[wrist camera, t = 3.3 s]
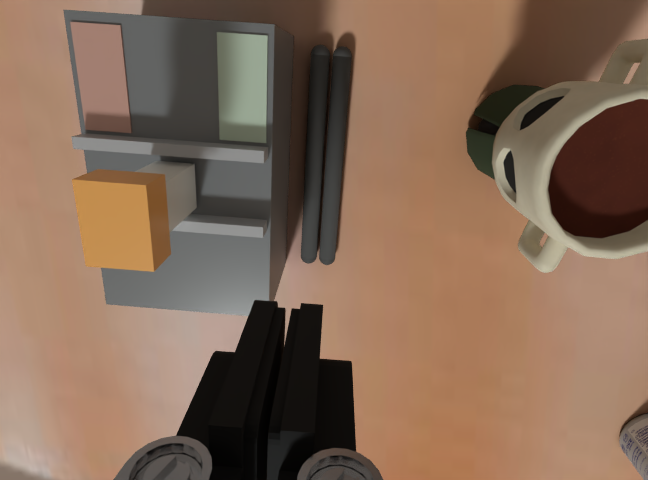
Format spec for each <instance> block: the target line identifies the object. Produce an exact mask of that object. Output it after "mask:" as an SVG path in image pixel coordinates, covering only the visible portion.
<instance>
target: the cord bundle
mask: <svg viewBox="0 0 648 480" xmlns="http://www.w3.org/2000/svg"><path fill="white" fill-rule="evenodd" d="M329 60H330V53H329V50H328V48H327V47H326V46H324V45H317V46H315V47H314V48H313V49H312V52H311V63H310V83H309V103H308V123H307V143H306V163H305V183H304V203H303V223H302V243H301V258H302V260H303V261H304V262H305V263H312V262H314V261H315V260H316V257H317V243H318V228H319V213H320V197H321V182H322V167H323V152H324V136H325V121H326V106H327V90H328V75H329ZM351 60H352V54H351V51H350V50H349V49H348V48H347V47H344V46H341V47H338V48H337V49H336V50H335V51H334V53H333V62H332V76H331V91H330V106H329V121H328V135H327V150H326V165H325V180H324V194H323V209H322V224H321V238H320V253H319V259H320V261H321V262H322V263H323V264H325V265H330V264H332V263H333V262H334V260H335V252H336V240H337V228H338V216H339V204H340V192H341V180H342V168H343V156H344V144H345V132H346V120H347V108H348V96H349V84H350V72H351Z"/></svg>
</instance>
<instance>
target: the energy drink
mask: <svg viewBox="0 0 648 480" xmlns="http://www.w3.org/2000/svg"><path fill="white" fill-rule="evenodd" d="M619 442H620V447H621V449H622V450H623V452H624V453H625V454H626V456H627V457H628V459H629V460H630V461H631V463H632V464H633V466H634V467H635V468H636V470H637V471H638V472H639V474H640V475H641V477H642V478H643V479H644V480H648V413H647V414H643V415H640V416H638V417H636V418H634V419H632V420H631V421H629V422H628V423H627V424H626V425H625V426H624V428H623V429H622V432H621V434H620V440H619Z"/></svg>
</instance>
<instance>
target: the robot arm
mask: <svg viewBox="0 0 648 480" xmlns="http://www.w3.org/2000/svg"><path fill="white" fill-rule="evenodd" d="M322 313H323V305H318V304H304V303H301V307H300V309H292V310H291V316H290V321H289V326H288V331H287V336H286V341H285V346H284V337H285V308H279V307H278V303H277V301H264V300H254V302H253V305H252V308H251V311H250V313H249V316H248V319H247V321H246V324H245V327H244V329H243V332H242V335H241V338H240V340H239V343H238V346H237V348H236V351H235V352H222V351H215V352H214V353H213V355H212V357H211V359H210V361H209V363H208V365H207V368H206V370H205V372H204V374H203V377H202V379H201V381H200V383H199V386H198V388H197V390H196V392H195V395H194V397H193V399H192V401H191V403H190V406H189V408H188V410H187V412H186V415H185V417H184V419H183V421H182V424H181V426H180V428H179V430H178V432H177V435H176V436H172V437H166V438H161V439H158V440H156V441H153V442H151V443H148V444H147V445H145V446H144V447H142V448H141V449H139V450H138V451H136V452H135V453H134V454H133V455H132V457H131V458H130V459H129V460H128V461H127V462H126V463H125V464H124V466H123V467H122V469H121V470H120V471H119V473H118V474H117V475H116V477H115V478H114V480H383V479H382V476H381V474H380V472H379V470H378V469H377V468H376V466H375V465H374V464H373V463H372V462H371V461H370V460H369V459H367V458H366V457H364V456H363V455H361V454H360V453H357V452H356V440H355V419H354V398H353V377H352V362H351V361H343V360H330V359H320V343H321V328H322Z"/></svg>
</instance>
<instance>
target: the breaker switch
mask: <svg viewBox="0 0 648 480" xmlns="http://www.w3.org/2000/svg"><path fill="white" fill-rule="evenodd" d="M72 183H73V189H74V195H75V201H76V208H77V214H78V220H79V226H80V233H81V239H82V245H83V251H84V257H85V264H86V266H88V267H101V268H113V269H125V270H138V271H150V272H154V271H155V270H156V269H157V268H158V267H159V266H160V265H161V264H162V263H163V262H164V261H165V260H166V259H167V258H168V257H169V256H170V255H171V246H170V232H171V231H172V230H173V229H174V228H175V227H176V226H177V225H178V224H180V223H181V222H182V221H183V220H184V219H185V218H186V217H187V216H188V215H189V214H190V213H191V212H192V211H194V210H195V209H196V208H197V204H196V183H195V164H191V163H178V162H165V161H155V162H153V163H151V164H149V165H147V166H145V167H143V168H141V169H139V170H137V171H135V172H130V171H117V170H104V169H97V170H94V171H92V172H89V173H87V174H84V175H82V176H80V177H77V178H75V179H72Z"/></svg>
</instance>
